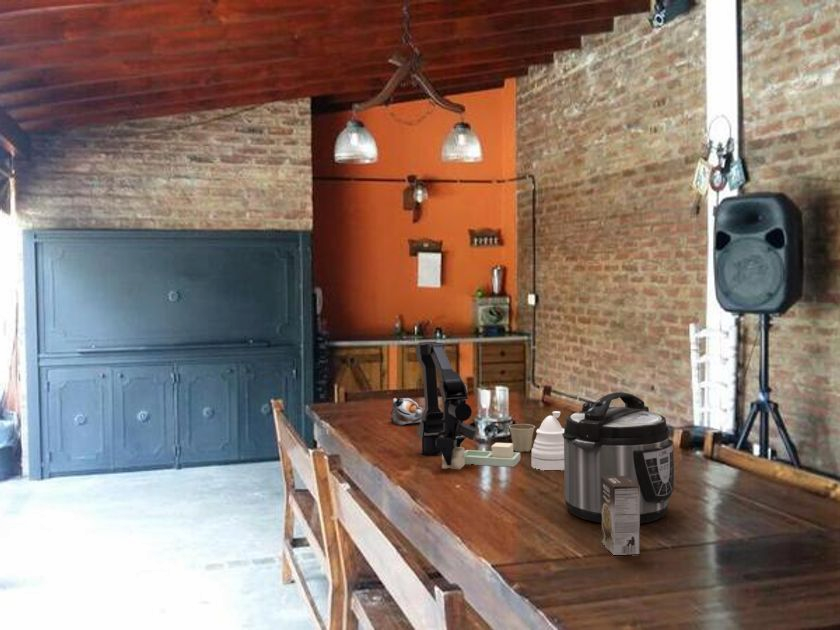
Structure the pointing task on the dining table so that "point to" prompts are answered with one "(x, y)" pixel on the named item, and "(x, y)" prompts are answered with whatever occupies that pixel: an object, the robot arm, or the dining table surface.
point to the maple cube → (455, 459)
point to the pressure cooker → (617, 455)
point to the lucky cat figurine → (405, 411)
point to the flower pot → (522, 436)
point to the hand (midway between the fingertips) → (452, 462)
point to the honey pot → (549, 445)
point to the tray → (494, 456)
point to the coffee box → (620, 515)
